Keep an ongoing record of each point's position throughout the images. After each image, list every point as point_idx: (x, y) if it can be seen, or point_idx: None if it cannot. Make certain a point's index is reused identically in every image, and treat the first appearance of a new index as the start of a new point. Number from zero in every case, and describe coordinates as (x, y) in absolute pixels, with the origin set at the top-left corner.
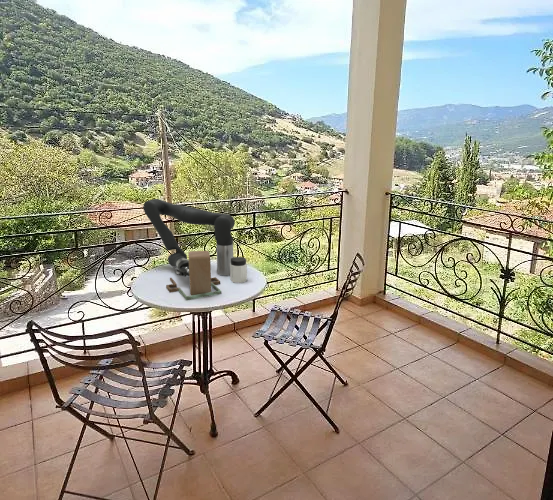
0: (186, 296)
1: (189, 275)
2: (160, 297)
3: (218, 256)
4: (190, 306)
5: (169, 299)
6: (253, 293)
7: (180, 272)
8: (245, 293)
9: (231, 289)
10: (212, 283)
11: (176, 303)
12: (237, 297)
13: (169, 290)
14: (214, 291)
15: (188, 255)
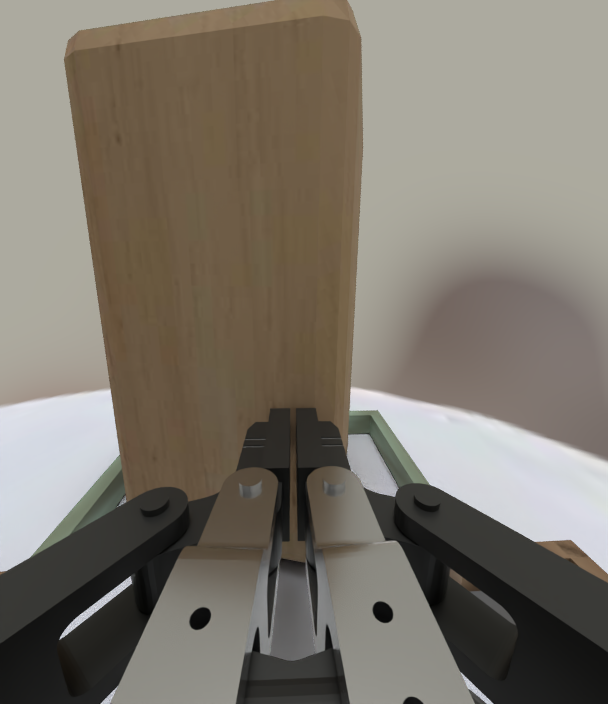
0: (374, 414)
1: (353, 318)
2: (590, 502)
3: None
4: (356, 393)
5: (488, 459)
6: (27, 403)
7: (582, 602)
8: (53, 410)
9: (33, 462)
10: (53, 540)
11: (425, 419)
12: None
13: (575, 556)
14: None
15: (360, 85)
